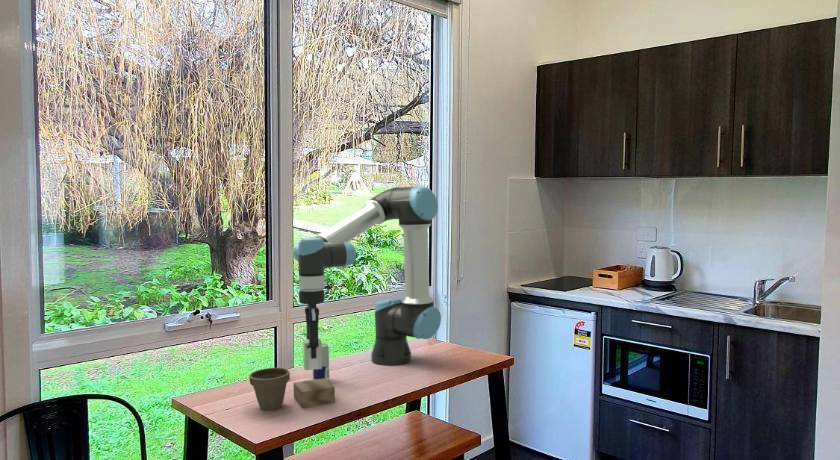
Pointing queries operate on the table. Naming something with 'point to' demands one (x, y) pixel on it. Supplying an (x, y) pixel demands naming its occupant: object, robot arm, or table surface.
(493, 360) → the table surface
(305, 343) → the sage block
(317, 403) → the walnut block
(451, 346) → the table surface
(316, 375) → the energy drink
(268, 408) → the flower pot
